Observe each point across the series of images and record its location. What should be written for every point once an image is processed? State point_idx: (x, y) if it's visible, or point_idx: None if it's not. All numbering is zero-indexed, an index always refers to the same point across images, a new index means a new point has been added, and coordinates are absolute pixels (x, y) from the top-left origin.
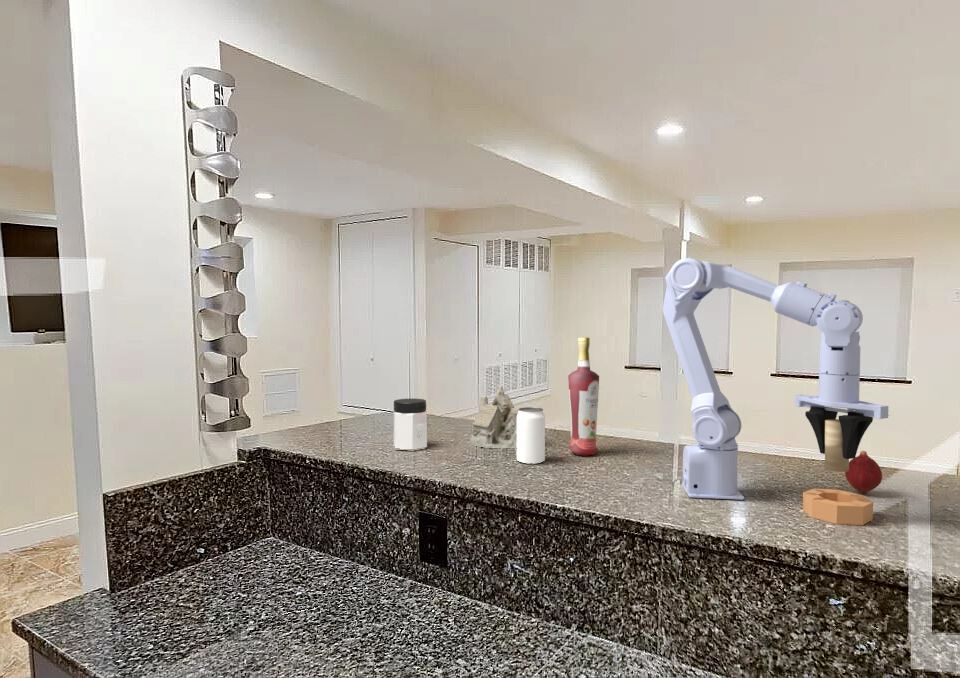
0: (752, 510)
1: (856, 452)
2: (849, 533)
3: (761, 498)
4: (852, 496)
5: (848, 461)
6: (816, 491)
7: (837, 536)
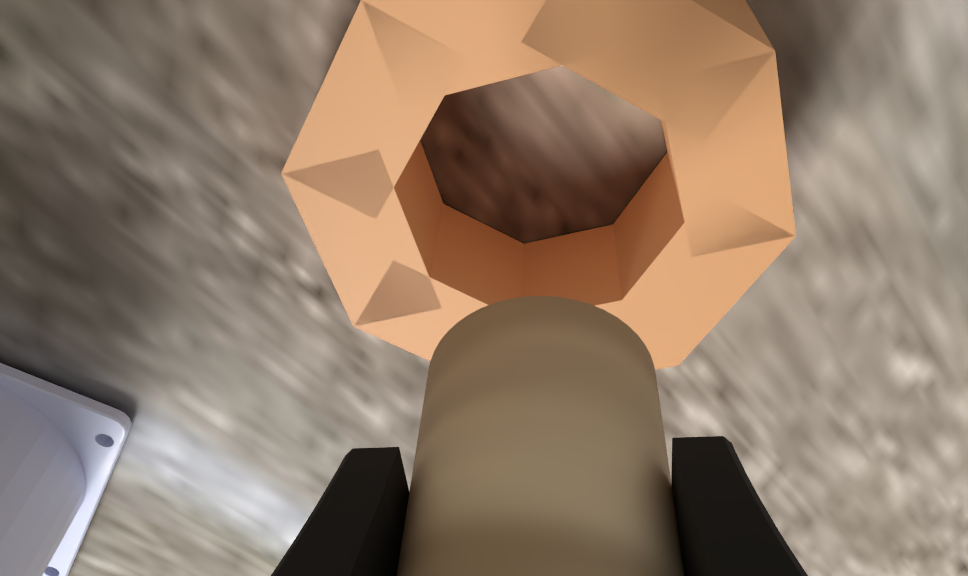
0: (303, 478)
1: (749, 483)
2: (797, 344)
3: (95, 293)
4: (578, 69)
5: (663, 437)
6: (358, 221)
7: (786, 426)
